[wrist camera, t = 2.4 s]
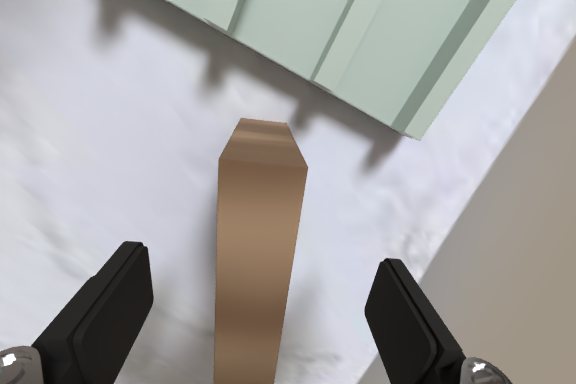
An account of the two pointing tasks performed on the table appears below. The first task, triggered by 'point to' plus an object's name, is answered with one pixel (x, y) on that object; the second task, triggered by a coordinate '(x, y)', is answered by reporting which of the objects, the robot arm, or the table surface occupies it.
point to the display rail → (366, 47)
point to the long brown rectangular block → (255, 248)
